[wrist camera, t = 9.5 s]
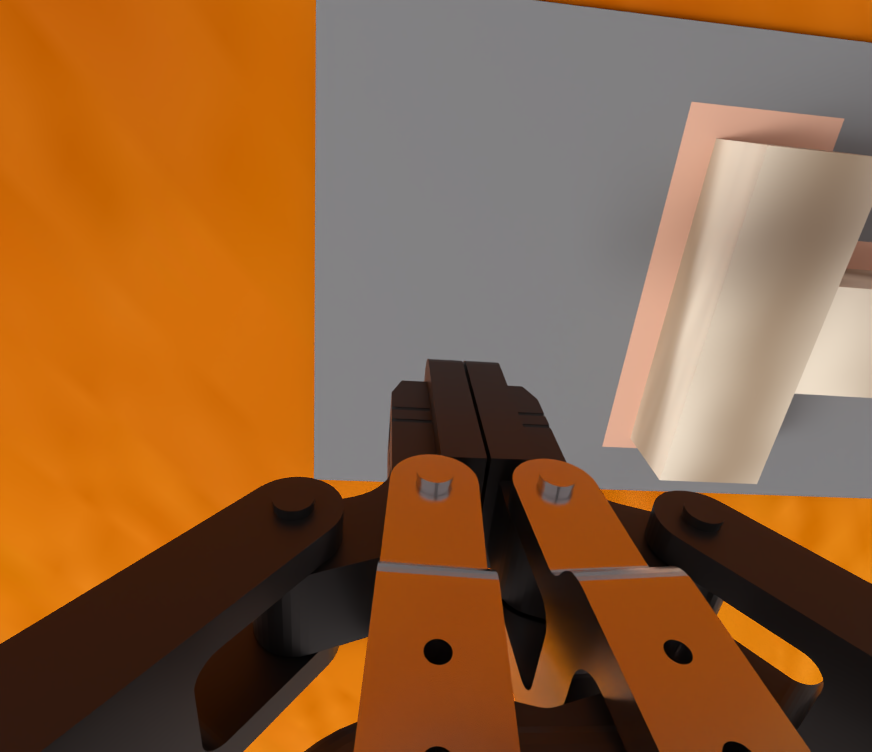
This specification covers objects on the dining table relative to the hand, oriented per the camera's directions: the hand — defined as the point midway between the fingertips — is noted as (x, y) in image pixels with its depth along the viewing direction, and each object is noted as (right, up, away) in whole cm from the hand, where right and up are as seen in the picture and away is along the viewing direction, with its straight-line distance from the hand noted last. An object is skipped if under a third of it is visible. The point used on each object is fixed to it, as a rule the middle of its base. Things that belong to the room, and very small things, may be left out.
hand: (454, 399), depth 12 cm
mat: (+9, +4, +10) cm, 14 cm away
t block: (+15, +3, +11) cm, 18 cm away
